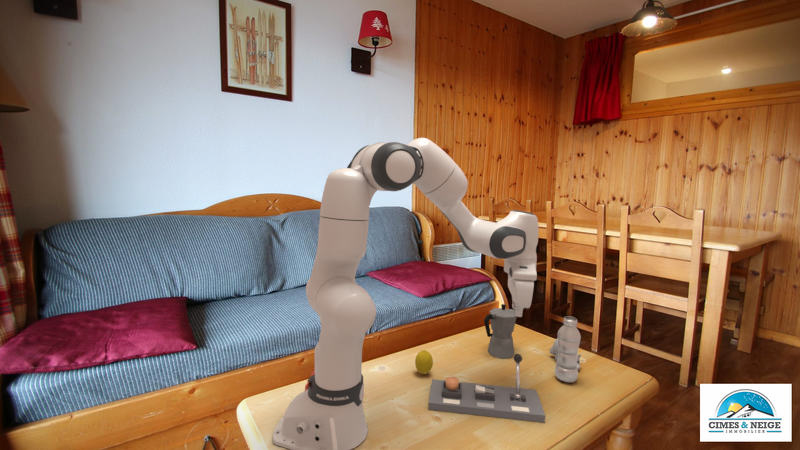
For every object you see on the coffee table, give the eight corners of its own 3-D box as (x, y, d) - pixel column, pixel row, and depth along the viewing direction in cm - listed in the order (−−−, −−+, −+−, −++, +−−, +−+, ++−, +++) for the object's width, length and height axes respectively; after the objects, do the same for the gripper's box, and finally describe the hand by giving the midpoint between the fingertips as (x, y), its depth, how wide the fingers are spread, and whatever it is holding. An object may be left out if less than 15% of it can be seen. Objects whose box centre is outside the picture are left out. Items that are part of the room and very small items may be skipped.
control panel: (428, 409, 103) (428, 397, 103) (431, 385, 115) (432, 374, 114) (544, 422, 99) (545, 409, 98) (535, 396, 110) (536, 384, 110)
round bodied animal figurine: (564, 378, 125) (572, 360, 121) (545, 350, 135) (552, 332, 131) (583, 376, 127) (592, 358, 123) (563, 348, 137) (570, 330, 133)
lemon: (431, 379, 118) (432, 355, 117) (413, 377, 119) (414, 353, 118) (433, 370, 123) (434, 347, 122) (416, 368, 124) (417, 345, 123)
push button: (445, 389, 106) (445, 382, 106) (445, 382, 110) (446, 375, 109) (458, 390, 106) (458, 384, 105) (458, 383, 109) (458, 377, 109)
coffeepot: (503, 343, 144) (506, 297, 142) (523, 353, 136) (527, 305, 134) (473, 353, 136) (475, 304, 133) (492, 364, 128) (495, 313, 126)
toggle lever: (514, 398, 104) (514, 353, 107) (512, 397, 106) (512, 353, 110) (523, 399, 104) (522, 354, 107) (521, 398, 106) (521, 353, 109)
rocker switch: (475, 392, 106) (476, 388, 106) (475, 388, 108) (475, 385, 108) (493, 397, 105) (494, 393, 105) (492, 392, 107) (493, 389, 107)
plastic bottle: (573, 388, 115) (578, 324, 112) (550, 379, 119) (555, 318, 117) (580, 379, 120) (585, 318, 117) (558, 372, 124) (563, 313, 121)
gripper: (504, 257, 121) (502, 299, 123) (513, 274, 101) (510, 324, 103) (525, 258, 120) (522, 301, 122) (538, 276, 100) (534, 326, 102)
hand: (516, 312), depth 112 cm, fingers open, 5 cm apart
